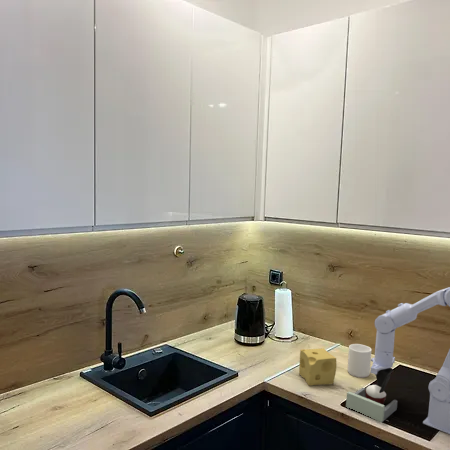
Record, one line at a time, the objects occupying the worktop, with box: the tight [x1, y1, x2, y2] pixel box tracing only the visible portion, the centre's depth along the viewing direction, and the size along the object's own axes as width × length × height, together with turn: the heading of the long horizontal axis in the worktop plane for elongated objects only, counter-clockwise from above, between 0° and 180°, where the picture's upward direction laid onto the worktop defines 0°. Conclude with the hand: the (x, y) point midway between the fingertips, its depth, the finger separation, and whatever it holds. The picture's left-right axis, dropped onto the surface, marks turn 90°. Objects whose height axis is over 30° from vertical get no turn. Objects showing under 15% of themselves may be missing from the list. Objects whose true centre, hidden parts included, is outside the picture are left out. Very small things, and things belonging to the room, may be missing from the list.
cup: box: [347, 343, 372, 379], centre depth 168 cm, size 8×12×10 cm
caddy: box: [345, 387, 398, 423], centre depth 140 cm, size 12×11×5 cm
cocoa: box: [365, 374, 391, 405], centre depth 142 cm, size 10×6×12 cm, turn 4°
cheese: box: [298, 348, 337, 387], centre depth 160 cm, size 10×11×10 cm
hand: (381, 388), depth 145 cm, fingers closed, pressing on cocoa
